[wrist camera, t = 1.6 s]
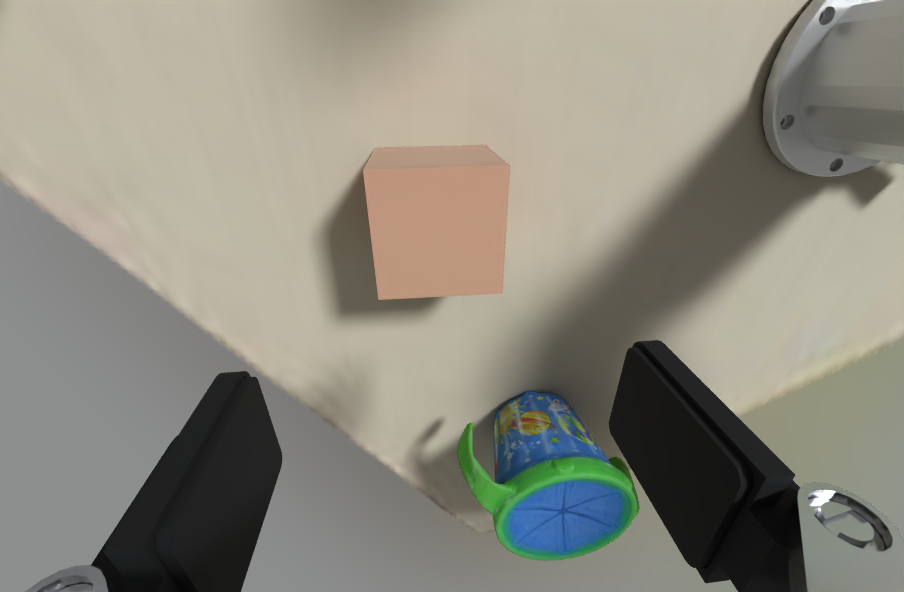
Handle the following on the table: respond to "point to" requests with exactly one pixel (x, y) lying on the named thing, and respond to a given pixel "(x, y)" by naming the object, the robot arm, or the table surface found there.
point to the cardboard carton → (437, 220)
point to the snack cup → (549, 481)
